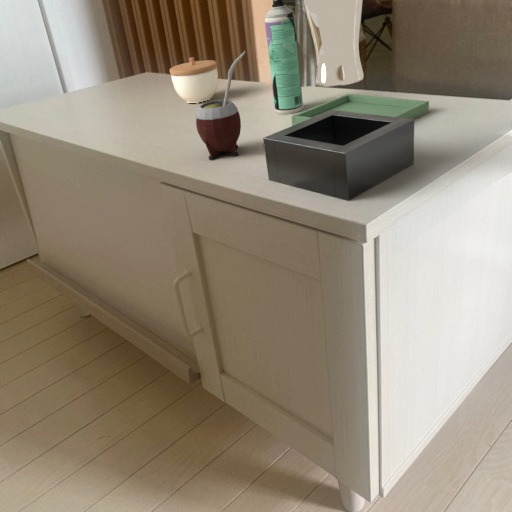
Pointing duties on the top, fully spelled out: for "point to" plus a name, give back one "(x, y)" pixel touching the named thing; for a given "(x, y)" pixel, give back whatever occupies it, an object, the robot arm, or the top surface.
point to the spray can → (283, 58)
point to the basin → (340, 152)
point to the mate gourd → (220, 123)
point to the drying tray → (367, 107)
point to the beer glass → (335, 40)
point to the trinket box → (195, 80)
